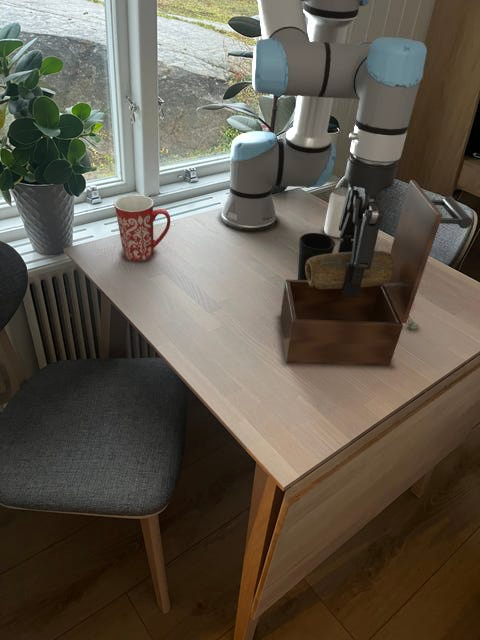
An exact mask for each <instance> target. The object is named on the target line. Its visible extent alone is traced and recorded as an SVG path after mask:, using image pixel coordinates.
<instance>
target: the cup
mask: <svg viewBox="0 0 480 640" xmlns="http://www.w3.org/2000/svg"><path fill="white" fill-rule="evenodd" d="M335 247H336V241H335V240H334V238H333V237H331V236H328V235H327V234H325V233H324V234H323V233H319V232H308V233H304V234H303V235H301V236H300V237H299V240H298V261H297V280H307V277H306V271H305V265H306V262H307V260H308V259H309V258H311V257H314V256H318V255H323V254H331V253H334V250H335Z"/></svg>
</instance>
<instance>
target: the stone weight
mask: <svg viewBox="0 0 480 640" xmlns="http://www.w3.org/2000/svg"><path fill="white" fill-rule="evenodd" d="M351 257H352V252H341V253H338V252H333V253H331V254H323V255H318V256H314V257H311V258H309V259H308V260H307V262H306V265H305V271H306V277H307V280H308V283H309V286H310V287H316V288H318V289H343V285H344V280H345V276H346V272H347V267H348V266H347V265H346V262H351ZM393 271H394V264H393V259H392V256H391V255H390V252H388V251H386V250H374V255H373V259H372V264H371V269H370V270H364V274H363V277H362V281H361V285H360V288H362V287H372V286H378V285H383V284H386V283H388V282H389V281H390V280H391V278H392V276H393Z"/></svg>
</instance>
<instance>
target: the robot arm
mask: <svg viewBox="0 0 480 640" xmlns="http://www.w3.org/2000/svg"><path fill="white" fill-rule="evenodd" d="M256 1H257V4H258V12H259V20H260V29H261V38H260V39H259V40H257V41H256V42H255V44H254V47H253V55H252V57H253V58H252V66H251V67H252V70H251V75H252V77H251V78H252V79H251V80H252V87H253V90H254V92H256V93H258V94H261V95H262V94H264V95H272V96H274V97H281V96H285V97H297V98H296V104H295V106H296V108H295V112H294V118H293V119H294V120H293V125H292V127H290V128H289V129H288V130H287V131H286V134H285V139H278V136H277V135H276V133H274V132H272V131H265V130H254V131H247V132H245V133H241V134H240V135H237V136H236V137H235V138H234V139H233V140H232V143H231V149H230V150H231V151H230V154H229V159H230V171H229V172H230V173H229V190H228V194H227V197H226V199H225V201H224V205H223V207H222V209H221V220H222V222H223V223H224V224H225V225H226V226H228V227H230V228H232V229H235V230H238V231H243V232H259V231H265V230H267V229H270V228H271V227H273V226H274V225H275V223H276V218H277V216H276V215H277V214H276V210H275V205H274V201H273V196H272V193H273V192H272V191H273V187H290V188H291V187H294V188H295V187H296V188H306V189H310V188H320V187H323V186H324V185H326V183H328V181H329V180H330V178H331V176H332V173H333V170H334V166H335V163H336V162H335V159H336V153H337V152H336V145H335V144H334V143H333V142H332V136H331V134H329V131H328V129H329V123H330V119H331V114H332V110H333V109H332V108H333V104H334V99H349V100H352V99H353V100H359V101H358V107H357V112H356V118H355V122H354V130H353V132H350V133H349V135H348V138H349V140H351V144H350V149H349V151H350V153H351V154H350V155H349V156H348V157H347V163H346V168H345V172H344V179H345V181H346V182H347V184H348V185H347V188H348V191H347V195H346V199H345V204H344V208H343V212H342V216H341V220H340V224H339V231H341V233H340V238H339V239H340V240H339V243H338V249H337V253H341V252H352V257H351V262H346V265H347V266H348V267H347V272H346V276H345V280H344V285H343V289H342V294H341V295H342V297H354V298H357V297H358V293H359V289H360V285H361V281H362V277H363V274H364V270H370V269H371V264H372V259H373V255H374V251H376V250H375V249H376V244H377V241H378V235H379V230H380V226H381V224H382V220H383V217H384V215H385V214H384V211H383V210H378V209H379V208H380V204H381V197H380V193H381V192H382V191H384V190H388V189H390V188H391V187H392V186H393V185H394V182H395V180H396V175H397V172H398V167H399V162H398V161H399V160H400V159H401V157H402V154H403V150H404V147H405V142H406V139H407V135H408V129H409V125H410V121H411V117H412V114H413V110H414V107H415V103H416V98H417V94H418V91H419V88H420V84H421V81H422V79H423V78H424V77H423V76H424V68H425V64H426V58H427V52H428V50H427V46H426V44H425V43H424V42H422V41H419V40H414V39H410V38H404V37H391V36H388V37H387V36H386V37H385V36H383V37H377V38H376V39H375V40H373V41H372V42H371V41H361V42H358V43H346V38H347V33H348V29H349V28H348V27H349V25H350V24H351V23H352V22H353V21H354V20H356V19H357V18H358V15H359V9H360V7H364V6H367V5H368V4H369V2H370V0H256ZM302 2H303V3H302ZM305 16H306V17H305ZM306 18H307V19H308V20H307V21H308V24H307V21H306Z"/></svg>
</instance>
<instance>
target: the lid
mask: <svg viewBox="0 0 480 640" xmlns="http://www.w3.org/2000/svg"><path fill="white" fill-rule="evenodd" d="M438 206H442V208H443V209H444V210H445V211H446V212H447V213H448V214H449V216H450V217H443V213H442V212H441V211H440V209H439V208H438ZM399 215H400V216H399V219H398V222H397V226H396V230H395V234H394V238H393V241H392V245H391V248H390V252H389V254H390V255H391V256H392V259H393V264H394V271H393V276H392V278H391V280H390V281H389V282H388V283H386V284H384V286H385V288H386V290H387V292H388V294H389V296H390V299H391V301H392V303H393V305H394V307H395V309H396V311H397V314H398V316H399V318H400V320H401V322H402V324H407V323H408V317H409V315H410V314H411V310H412V308H413V305H414V301H415V299H416V297H417V296H416V295H417V292H418V290H419V287H420V284H421V280H422V278H423V275H424V272H425V268H426V265H427V263H428V260H429V257H430V254H431V250H432V249H433V244H434V241H435V238H436V236H437V233H438V229H439V228H440V224H443V225H447V224H448V225H458V226H459V228H461V229H465V230H466V229H468V228H470V227H471V226H472V224H473V218H472V217H471V216H470V215H469V214H468V212H466V211H465V210H464V209H463V207H462V206H461V205H460V204H459V203H458V202H457V201H456V200H455V198H454V197H453V196H445V197H444V198H443V199H431V198H430V197H429V196H428V195H427V194H426V192H425V190H423V189H422V187H421V186H420V185H419V184H418V183H417V181H416V180H415V179H410V180H409V183H408V187H407V191H406V194H405V197H404V201H403V205H402V208H401V211H400V214H399Z"/></svg>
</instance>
